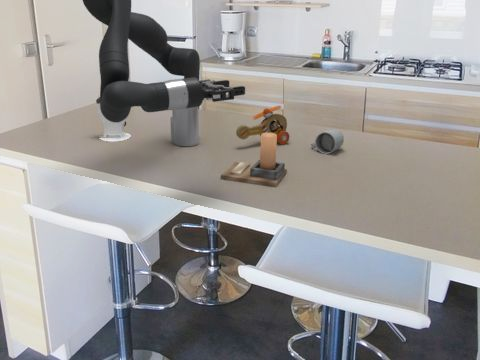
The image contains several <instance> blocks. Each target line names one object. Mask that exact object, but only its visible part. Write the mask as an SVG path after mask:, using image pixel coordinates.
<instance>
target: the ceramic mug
mask: <svg viewBox="0 0 480 360" xmlns="http://www.w3.org/2000/svg"><path fill="white" fill-rule="evenodd" d="M315 137H316V138H315V140H314V142H313V143H311V144H310V146H311V149H315V148H316V149H317V150H318V151H319V152H320V153H322V154H323V153H324V155H329V154H331V153H333V152H335V151H337V150H338V149H340V148H341V147H342V146H343V144H344V141H345V140H344V139H345V138H344V135H343V133H342V132H341V131H340V130H338V129H331V128H330V129H328V130H326V131H322V132H319V133H318V134H317V136H315Z"/></svg>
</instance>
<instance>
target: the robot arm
mask: <svg viewBox="0 0 480 360" xmlns="http://www.w3.org/2000/svg"><path fill="white" fill-rule="evenodd" d="M82 3H83V5H84V7H85V9H86V10H87V11H88V12H89V14H90V15H91V16H92V17H94V18H95V19H96V20H97V21H99V22H100V23H102V24H104V25H105V26H107V28H106V31H105V33H104V35H103V37H102V40H101V42H100V45H99V51H98V64H99V66H98V67H99V73H100V74H99V76H100V91H99V92H100V93H99V97H100V109H101V112H102V114H103V116H104V117H105V118H106V119H107V120H109V121H111V122H121V121H123V120H125V119H126V118H127V116H128V115H129V113H130V114H131V108H133V107H140V108H141V109H142V111H144V112H146V113H155V112H164V111H172V114H171V115H172V116H171V117H170V119H169V121H170V135H171V136H170V139H171V140H170V141H171V143H170V144H173V145H176V146H179V147H192V146H196V145H199V144H200V121H199V120H200V118H199V115H200V114H199V110H200V109H199V107H200V106H201V105H202V104H203V102H204V100H205V99H206V101H207V100H209V101H212V102H214V103H216V102H222V101H223V102H225V101H231V100H232V101H233V100H235V97H238V96H244V95H245V94H246V87H245V86H243V85H239V86H233V87H231V86H230V80H228V79H224V80H214V79H212V80H211V79H205V80H204V79H203V80H200V79H201V78H200V76H201V75H200V73H201V72H200V70H201V60H200V58H201V57H200V55H199V52H198V51H197V50H196V49H194V48H187V47H186V48H185V47H175V46H172V45H170V44H169V43H168V35H167V32H166V30H165V28H164V27H163V26H162V25H161V24H160V23H159V22H157V20H155V19H154V18H152V17H151V16H149V15H148V14H147V15H146V14H143V13H140V12H139V13H138V12H133V11H132V0H82ZM129 40H130V41H131V43H133V44H134V45H136V47H138V48H140V49H141V51H143V52H145V53H146V54H148V55H149V56H151V58H153V59H154V60H155V61H157V62H158V63H159V64H160V65H161V66H162V68H164V69H165V71H167V73H169V74H171V75H173V76H180V77H181V76H182V77H183V78H175V79H169V80H165V81H159V82H151V83H143V82H139V81H138V82H137V81H129V79H130V62H129V48H128V44H129ZM129 116H130V115H129Z"/></svg>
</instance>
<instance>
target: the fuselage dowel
mask: <svg viewBox="0 0 480 360" xmlns="http://www.w3.org/2000/svg"><path fill="white" fill-rule="evenodd" d="M277 144H278V142H277V135H276V134H275V133H262V134H261V136H260V153H259V155H260V157H259V160H260V169H266V170H274V171H275V164H276V162H277V161H276V160H277Z"/></svg>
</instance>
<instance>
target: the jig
mask: <svg viewBox="0 0 480 360" xmlns="http://www.w3.org/2000/svg"><path fill="white" fill-rule="evenodd" d="M287 169H288V168H285V162H280V161H276V164H275V171H274V170H266V169H260V159H258V160H257V161H256V162H255V163H254V164H252V163H249V162H242V161H240V162H238V161H237V162H236V161H234V162H233V163H232V164H231V165H230V166H229V167H228V168H227V169H226V170H224V171H223V173H221V174H220V179H221V180H226V181H233V182H240V183H245V184H246V183H247V184H253V185H259V186H267V187H272V188H273V187H274V188H276V187H277V186H279V184H280V183H281V182H282V180H283V178H284V177H285V176H286V175H287V171H288V170H287Z"/></svg>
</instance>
